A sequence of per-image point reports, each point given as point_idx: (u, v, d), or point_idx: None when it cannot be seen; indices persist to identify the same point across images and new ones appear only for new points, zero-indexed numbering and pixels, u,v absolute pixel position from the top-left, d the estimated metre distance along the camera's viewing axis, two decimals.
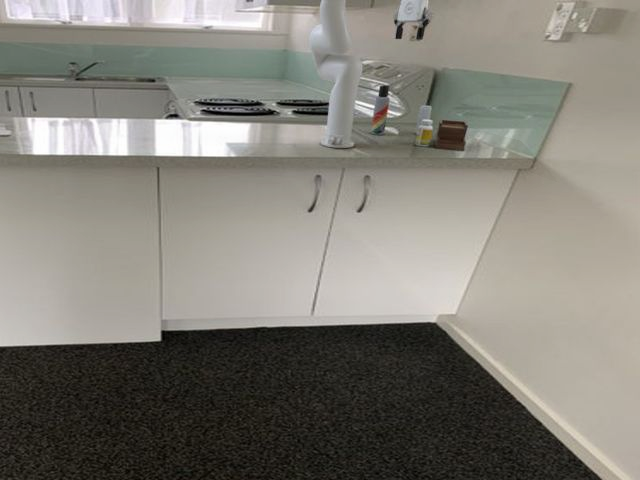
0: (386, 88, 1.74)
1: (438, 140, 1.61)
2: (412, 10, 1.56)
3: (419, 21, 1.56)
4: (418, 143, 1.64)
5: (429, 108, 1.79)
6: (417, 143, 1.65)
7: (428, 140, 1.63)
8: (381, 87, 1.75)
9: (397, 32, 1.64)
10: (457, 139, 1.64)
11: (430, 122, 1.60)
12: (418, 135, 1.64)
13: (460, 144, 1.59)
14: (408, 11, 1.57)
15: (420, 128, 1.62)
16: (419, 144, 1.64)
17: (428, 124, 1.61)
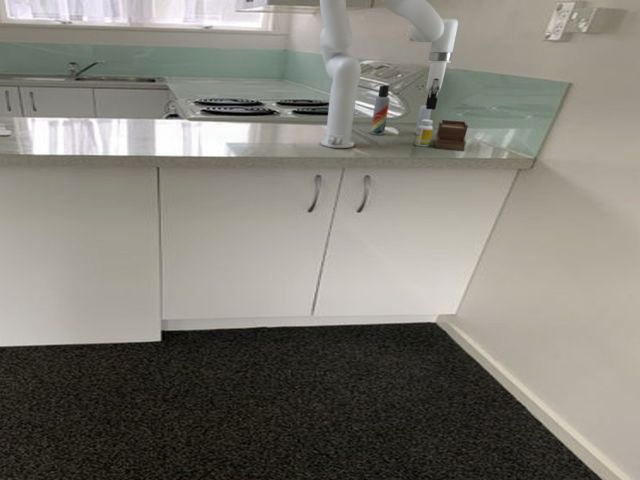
0: (386, 88, 1.74)
1: (438, 140, 1.61)
2: None
3: (430, 91, 1.54)
4: (418, 143, 1.64)
5: None
6: (417, 143, 1.65)
7: (428, 140, 1.63)
8: (381, 87, 1.75)
9: (428, 99, 1.63)
10: (457, 139, 1.64)
11: (430, 122, 1.60)
12: (418, 135, 1.64)
13: (460, 144, 1.59)
14: (427, 81, 1.57)
15: (420, 128, 1.62)
16: (419, 144, 1.64)
17: (428, 124, 1.61)
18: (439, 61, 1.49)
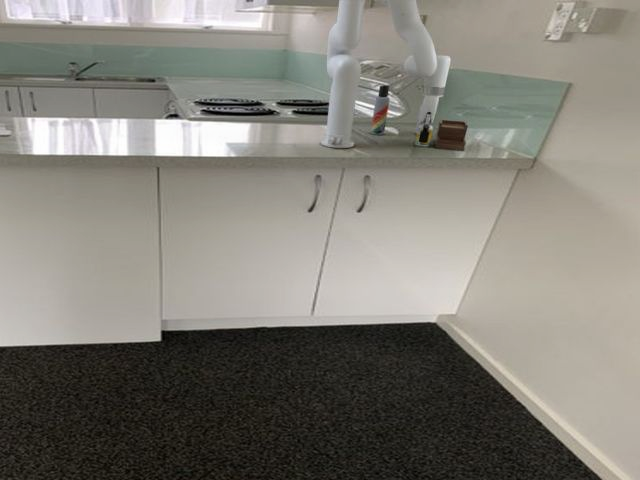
0: (386, 88, 1.74)
1: (438, 140, 1.61)
2: None
3: None
4: (418, 143, 1.64)
5: None
6: (417, 143, 1.65)
7: (428, 140, 1.63)
8: (381, 87, 1.75)
9: None
10: (457, 139, 1.64)
11: None
12: (418, 135, 1.64)
13: (460, 144, 1.59)
14: None
15: (420, 128, 1.62)
16: (419, 144, 1.64)
17: None
18: (432, 95, 1.54)
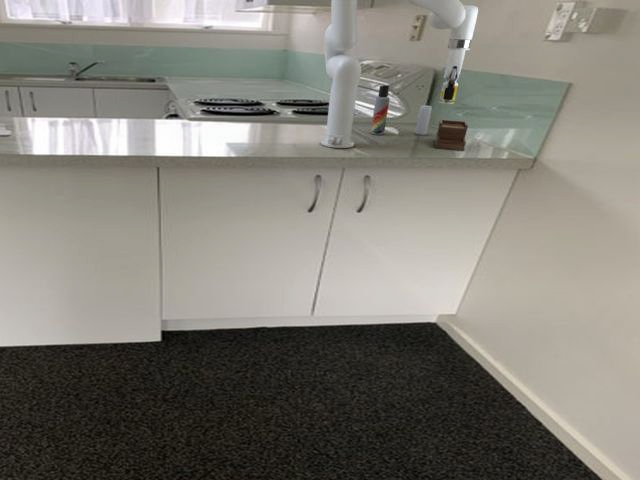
0: (386, 88, 1.74)
1: (438, 140, 1.61)
2: (446, 68, 1.55)
3: None
4: (443, 101, 1.59)
5: (429, 108, 1.79)
6: (441, 101, 1.59)
7: (453, 97, 1.58)
8: (381, 87, 1.75)
9: None
10: (457, 139, 1.64)
11: None
12: (442, 92, 1.58)
13: (460, 144, 1.59)
14: None
15: (445, 85, 1.57)
16: (443, 102, 1.59)
17: None
18: (458, 48, 1.49)
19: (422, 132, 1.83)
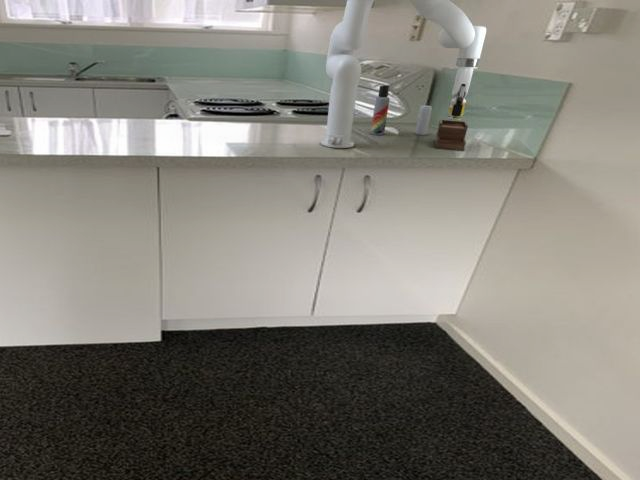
0: (386, 88, 1.74)
1: (438, 140, 1.61)
2: (454, 85, 1.59)
3: None
4: (451, 117, 1.63)
5: (429, 108, 1.79)
6: (450, 117, 1.63)
7: (461, 113, 1.62)
8: (381, 87, 1.75)
9: None
10: (457, 139, 1.64)
11: None
12: (451, 109, 1.62)
13: (460, 144, 1.59)
14: (454, 86, 1.60)
15: (453, 101, 1.61)
16: (452, 118, 1.63)
17: None
18: (467, 67, 1.53)
19: (422, 132, 1.83)
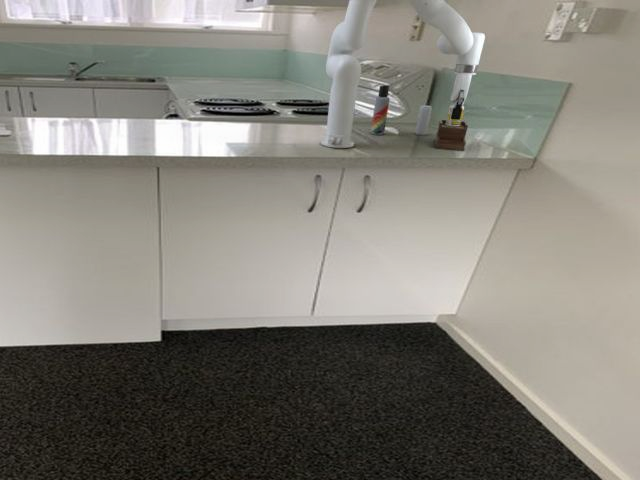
0: (386, 88, 1.74)
1: (438, 140, 1.61)
2: (453, 91, 1.60)
3: (455, 102, 1.58)
4: (449, 123, 1.64)
5: (429, 108, 1.79)
6: (448, 123, 1.64)
7: (459, 120, 1.63)
8: (381, 87, 1.75)
9: None
10: (457, 139, 1.64)
11: None
12: (449, 115, 1.63)
13: (460, 144, 1.59)
14: (452, 91, 1.61)
15: (451, 108, 1.62)
16: (450, 124, 1.64)
17: None
18: (465, 73, 1.54)
19: (422, 132, 1.83)
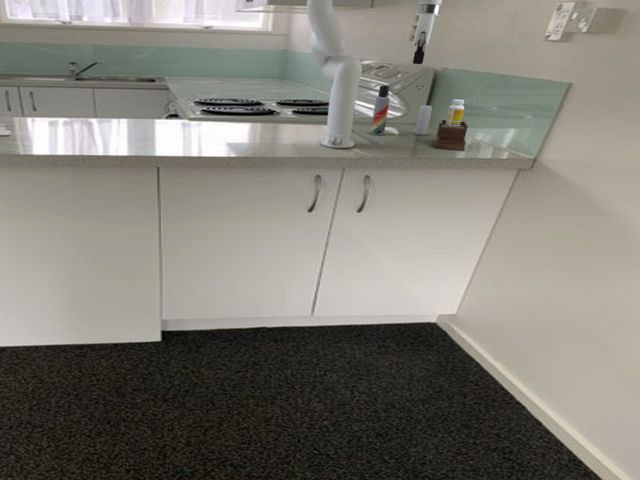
0: (386, 88, 1.74)
1: (438, 140, 1.61)
2: None
3: (417, 45, 1.52)
4: (449, 123, 1.64)
5: (429, 108, 1.79)
6: (448, 123, 1.64)
7: (459, 120, 1.63)
8: (381, 87, 1.75)
9: None
10: (457, 139, 1.64)
11: (462, 102, 1.60)
12: (449, 115, 1.63)
13: (460, 144, 1.59)
14: None
15: (451, 108, 1.62)
16: (450, 124, 1.64)
17: (460, 104, 1.60)
18: (427, 13, 1.47)
19: (422, 132, 1.83)
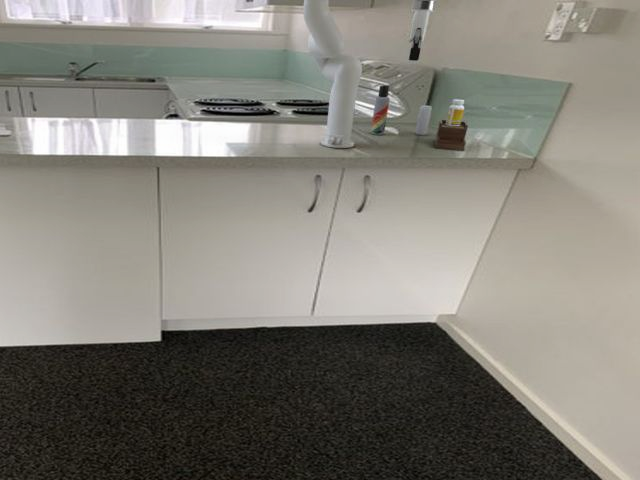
0: (386, 88, 1.74)
1: (438, 140, 1.61)
2: None
3: None
4: (449, 123, 1.64)
5: (429, 108, 1.79)
6: (448, 123, 1.64)
7: (459, 120, 1.63)
8: (381, 87, 1.75)
9: None
10: (457, 139, 1.64)
11: (462, 102, 1.60)
12: (449, 115, 1.63)
13: (460, 144, 1.59)
14: None
15: (451, 108, 1.62)
16: (450, 124, 1.64)
17: (460, 104, 1.60)
18: (422, 9, 1.47)
19: (422, 132, 1.83)
